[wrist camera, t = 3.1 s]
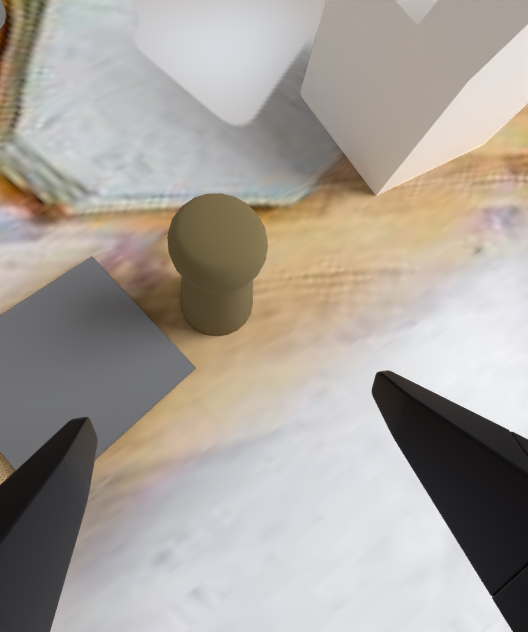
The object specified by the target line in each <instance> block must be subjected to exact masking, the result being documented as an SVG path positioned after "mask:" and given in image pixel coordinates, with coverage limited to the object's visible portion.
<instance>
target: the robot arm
mask: <svg viewBox="0 0 528 632" xmlns="http://www.w3.org/2000/svg"><path fill="white" fill-rule="evenodd" d="M372 395H373V398H374V400H375V402H376V404H377V406H378V408H379V410H380V412H381V414H382V416H383V418H384V420H385V422H386V424H387V426H388V428H389V430H390V432H391V434H392V436H393V438H394V439H395V441H396V443H397V444H398V446H399V448H400V449H401V451H402V453H403V454H404V456H405V457H406V459H407V461H408V462H409V464H410V466H411V467H412V469H413V470H414V472H415V474H416V475H417V477H418V478H419V480H420V482H421V483H422V485H423V487H424V488H425V490H426V491H427V493H428V495H429V496H430V498H431V500H432V501H433V503H434V504H435V506H436V508H437V509H438V511H439V513H440V514H441V516H442V517H443V519H444V521H445V522H446V524H447V525H448V527H449V529H450V530H451V532H452V534H453V535H454V537H455V538H456V540H457V542H458V543H459V545H460V547H461V548H462V550H463V551H464V553H465V555H466V556H467V558H468V560H469V561H470V563H471V564H472V566H473V568H474V569H475V571H476V572H477V574H478V576H479V577H480V579H481V581H482V582H483V584H484V585H485V587H486V589H487V590H488V592H489V594H490V595H491V596H492V599H493V600H494V602H495V604H496V605H497V607H498V609H499V610H500V612H501V613H502V615H503V617H504V618H505V620H506V621H507V623H508V625H509V626H510V628H511V630H512V631H513V632H528V439H526V438H524V437H522V436H520V435H518V434H516V433H514V432H510V431H509V430H508V429H506V428H504V427H502V426H500V425H498V424H496V423H494V422H492V421H490V420H488V419H486V418H484V417H482V416H480V415H478V414H476V413H474V412H472V411H470V410H468V409H466V408H464V407H462V406H460V405H458V404H456V403H454V402H452V401H450V400H448V399H446V398H444V397H442V396H440V395H438V394H436V393H434V392H432V391H430V390H428V389H426V388H424V387H422V386H420V385H418V384H416V383H414V382H412V381H410V380H408V379H406V378H403V377H401V376H399V375H397V374H395V373H393V372H391V371H388V370H387V371H380V372H377V374H376V376H375V379H374V383H373V387H372ZM97 444H98V438H97V434H96V432H95V430H94V427H93V425H92V422H91V420H90V418H88V417H80V418H74V419H71V420H70V421H68V422H67V423H66V424H65V425H64V426H63V427H62V428H61V429H60V430H59V431H58V432H56V433H55V434H54V435H53V436H52V437H51V438H50V439H49V440H48V441H47V442H46V443H45V444H44V445H43V446H41V447H40V448H39V449H38V450H37V451H36V452H35V453H34V454H33V455H32V456H31V457H30V458H29V459H28V460H26V461H25V462H24V463H23V464H22V465H21V466H20V467H19V468H18V469H17V470H16V471H15V472H14V473H13V474H11V475H10V476H9V477H8V478H7V479H6V480H5V481H4V482H3V483H2V484H1V485H0V632H50V630H51V627H52V623H53V620H54V616H55V613H56V609H57V606H58V602H59V599H60V595H61V592H62V588H63V585H64V581H65V578H66V574H67V571H68V567H69V564H70V560H71V557H72V554H73V550H74V547H75V543H76V540H77V536H78V533H79V529H80V526H81V522H82V519H83V515H84V512H85V508H86V504H87V500H88V495H89V490H90V484H91V478H92V473H93V467H94V461H95V455H96V450H97Z"/></svg>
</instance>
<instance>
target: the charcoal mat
mask: <svg viewBox="0 0 528 632" xmlns="http://www.w3.org/2000/svg"><path fill="white" fill-rule="evenodd" d="M194 369H196V368H195V366H194V365H193V364H192V363H191V362H190V361H189V360H188V359H187V358H186V357H185V356H184V355H183V353H182V352H181V351H180V350H179V349H178V348H177V347H176V346H175V345H174V344H173V343H172V342H171V341H170V339H169V338H168V337H167V336H166V335H165V334H164V333H163V332H162V331H161V330H160V329H159V328H158V327H157V326H156V324H155V323H154V322H153V321H152V320H151V319H150V318H149V317H148V316H147V315H146V314H145V313H144V312H143V310H142V309H141V308H140V307H139V306H138V305H137V304H136V303H135V302H134V301H133V300H132V299H131V298H130V296H129V295H128V294H127V293H126V292H125V291H124V290H123V289H122V288H121V287H120V286H119V285H118V284H117V282H116V281H115V280H114V279H113V278H112V277H111V276H110V275H109V274H108V273H107V272H106V271H105V270H104V268H103V267H102V266H101V265H100V264H99V263H98V262H97V261H96V260H95V259H94V258H93V257H92V256H91V257H90V258H88V259H87V260H85V261H84V262H82V263H81V264H79V265H77V266H76V267H74V268H73V269H71V270H70V271H68V272H67V273H65V274H63V275H62V276H60V277H59V278H57V279H56V280H54V281H53V282H51V283H50V284H48V285H46V286H45V287H43V288H42V289H40V290H39V291H37V292H36V293H34V294H32V295H31V296H29V297H28V298H26V299H25V300H23V301H22V302H20V303H18V304H17V305H15V306H14V307H12V308H11V309H9V310H8V311H6V312H5V313H3V314H1V315H0V452H1V453H2V455H3V456H4V457H5V458H6V459H7V461H8V462H9V463H10V464H11V466H12V467H13V468H14V469H15V470H17V469H18V468H19V467H20V466H21V465H22V464H23V463H24V462H25V461H26V460H28V459H29V458H30V457H31V456H32V455H33V454H34V453H35V452H36V451H37V450H38V449H39V448H40V447H41V446H43V445H44V444H45V443H46V442H47V441H48V440H49V439H50V438H51V437H52V436H53V435H54V434H55V433H56V432H58V431H59V430H60V429H61V428H62V427H63V426H64V425H65V424H66V423H67V422H68V421H70V420H71V419H74V418H80V417H88V418H90V420H91V422H92V425H93V427H94V430H95V432H96V434H97V438H98V444H97V450H96V455H95V460H96V459H97V458H98V457H99V456H100V455H101V454H102V453H103V452H104V451H105V450H107V449H108V448H109V447H110V446H111V445H112V444H113V443H114V442H115V441H116V440H118V439H119V438H120V437H121V436H122V435H123V434H124V433H125V432H126V431H127V430H129V429H130V428H131V427H132V426H133V425H134V424H135V423H136V422H137V421H138V420H140V419H141V418H142V417H143V416H144V415H145V414H146V413H147V412H148V411H149V410H150V409H152V408H153V407H154V406H155V405H156V404H157V403H158V402H159V401H160V400H161V399H163V398H164V397H165V396H166V395H167V394H168V393H169V392H170V391H171V390H172V389H174V388H175V387H176V386H177V385H178V384H179V383H180V382H181V381H182V380H183V379H185V378H186V377H187V376H188V375H189V374H190V373H191V372H192V371H193V370H194Z"/></svg>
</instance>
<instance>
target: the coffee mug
mask: <svg viewBox="0 0 528 632" xmlns="http://www.w3.org/2000/svg"><path fill="white" fill-rule="evenodd" d="M5 19H6V11H5V7H4V5H3V3H2V1H1V0H0V29H1V28H2V26H3V25H4V22H5Z"/></svg>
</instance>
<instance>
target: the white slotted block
mask: <svg viewBox="0 0 528 632" xmlns="http://www.w3.org/2000/svg"><path fill="white" fill-rule="evenodd" d="M300 96H301V97H302V98H303V100H304V101H305V102H306V104H307V105H308V106H309V108H310V109H311V110H312V112H313V113H314V114H315V116H316V117H317V118H318V120H319V121H320V122H321V124H322V125H323V126H324V128H325V129H326V130H327V132H328V133H329V134H330V135H331V137H332V138H333V139H334V141H335V142H336V143H337V145H338V146H339V147H340V149H341V150H342V151H343V153H344V154H345V155H346V157H347V158H348V159H349V161H350V162H351V163H352V165H353V166H354V167H355V169H356V170H357V171H358V173H359V174H360V175H361V177H362V178H363V179H364V181H365V182H366V183H367V185H368V186H369V187H370V189H371V190H372V191H373V193H374V194H375V195H376V196H377V195H379V194H381V193H383V192H385V191H387V190H389V189H392V188H394V187H396V186H398V185H400V184H402V183H404V182H406V181H408V180H411V179H413V178H415V177H417V176H419V175H421V174H423V173H425V172H427V171H430V170H432V169H434V168H436V167H438V166H440V165H442V164H444V163H446V162H449V161H451V160H453V159H455V158H457V157H459V156H461V155H463V154H466V153H468V152H470V151H472V150H474V149H476V148H478V147H480V146H482V145H484V144H485V143H486V142H487V141H488V140H489V139H490V138H491V137H492V136H494V135H495V134H496V133H497V132H498V131H499V130H500V129H501V128H502V127H503V126H504V125H505V124H506V123H507V122H509V121H510V120H511V119H512V118H513V117H514V116H515V115H516V114H517V113H518V112H519V111H520V110H521V109H522V108H524V107H525V106H526V105H527V104H528V0H326V2H325V6H324V10H323V14H322V17H321V20H320V24H319V28H318V31H317V34H316V38H315V41H314V45H313V48H312V52H311V56H310V59H309V63H308V66H307V70H306V73H305V77H304V80H303V84H302V87H301V91H300Z"/></svg>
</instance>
